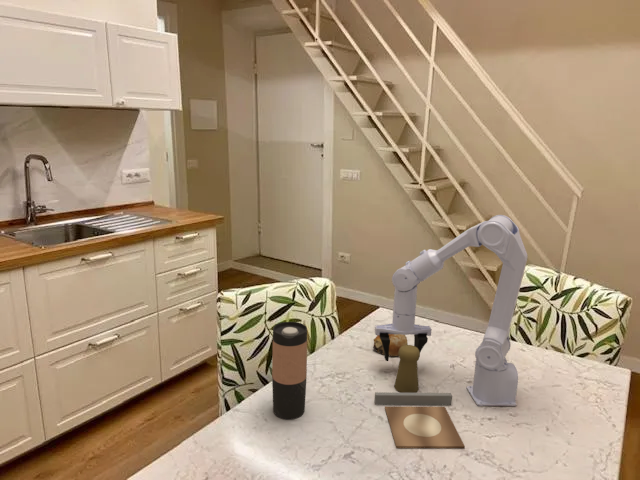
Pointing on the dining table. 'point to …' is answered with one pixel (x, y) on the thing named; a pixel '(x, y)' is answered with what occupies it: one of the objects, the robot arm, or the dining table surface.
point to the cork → (407, 370)
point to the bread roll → (391, 344)
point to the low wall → (412, 398)
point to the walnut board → (422, 427)
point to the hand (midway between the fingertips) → (400, 359)
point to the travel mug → (289, 369)
